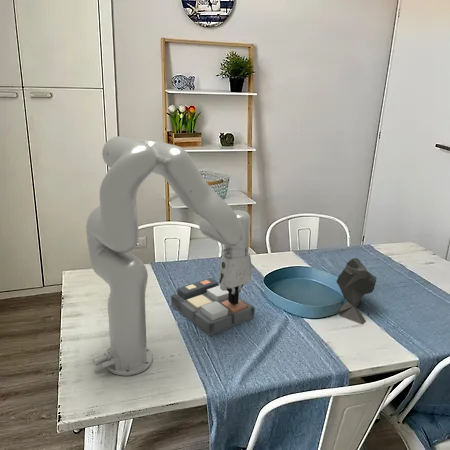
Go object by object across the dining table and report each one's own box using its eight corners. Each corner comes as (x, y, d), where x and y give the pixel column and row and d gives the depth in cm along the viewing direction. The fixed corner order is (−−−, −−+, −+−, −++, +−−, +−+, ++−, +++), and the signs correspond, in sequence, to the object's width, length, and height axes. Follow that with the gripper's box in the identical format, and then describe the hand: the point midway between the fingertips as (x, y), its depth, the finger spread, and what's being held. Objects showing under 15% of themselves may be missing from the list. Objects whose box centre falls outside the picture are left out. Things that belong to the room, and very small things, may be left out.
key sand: (197, 315, 139) (197, 307, 138) (186, 307, 144) (186, 299, 143) (212, 309, 143) (212, 301, 142) (201, 302, 147) (201, 294, 146)
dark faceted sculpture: (380, 306, 152) (388, 259, 146) (362, 324, 141) (370, 274, 135) (342, 293, 160) (348, 248, 154) (322, 309, 149) (328, 261, 143)
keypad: (209, 336, 132) (209, 316, 130) (171, 305, 148) (171, 288, 146) (253, 317, 142) (254, 299, 140) (213, 291, 159) (214, 274, 156)
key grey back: (217, 304, 144) (217, 296, 143) (206, 297, 148) (206, 289, 147) (231, 299, 147) (231, 291, 146) (220, 292, 152) (220, 285, 151)
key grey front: (212, 323, 133) (212, 314, 132) (200, 314, 137) (201, 306, 136) (227, 317, 137) (227, 308, 136) (216, 309, 141) (216, 301, 140)
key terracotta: (232, 318, 138) (232, 310, 137) (220, 310, 143) (221, 302, 142) (246, 313, 142) (247, 304, 141) (234, 305, 146) (235, 297, 145)
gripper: (224, 259, 128) (222, 314, 133) (262, 249, 136) (258, 301, 142) (209, 251, 133) (207, 304, 139) (246, 241, 142) (243, 292, 148)
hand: (233, 302), depth 141 cm, fingers closed
